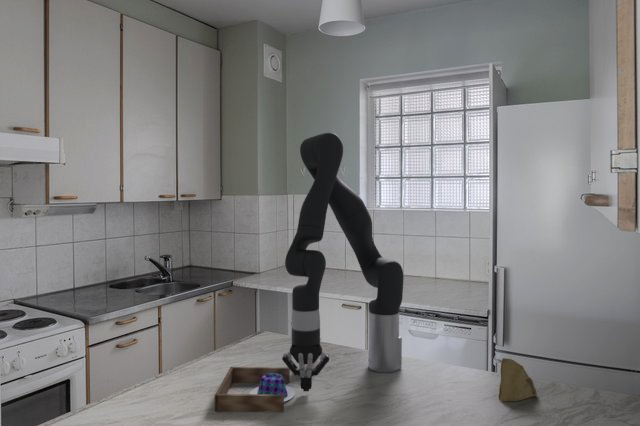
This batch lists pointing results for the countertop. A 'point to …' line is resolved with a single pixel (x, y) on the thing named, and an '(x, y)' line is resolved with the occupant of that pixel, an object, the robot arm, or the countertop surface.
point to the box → (249, 400)
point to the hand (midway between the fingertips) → (306, 390)
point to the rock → (515, 382)
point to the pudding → (273, 386)
